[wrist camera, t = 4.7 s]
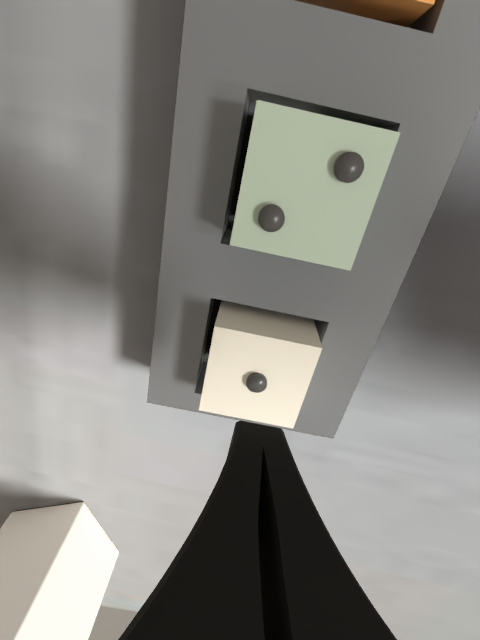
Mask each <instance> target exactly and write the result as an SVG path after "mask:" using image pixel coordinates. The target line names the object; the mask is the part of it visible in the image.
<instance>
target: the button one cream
mask: <svg viewBox="0 0 480 640" xmlns="http://www.w3.org/2000/svg"><path fill="white" fill-rule="evenodd" d="M321 351H322V345H321V342H320V339H319V336H318V332H317V329H316V326H315V323H314V319H311V318H306V317H301V316H296V315H291V314H286V313H281V312H277V311H272V310H267V309H262V308H257V307H252V306H248V305H243V304H238V303H233V302H228V301H223V300H221V304H220V308H219V311H218V315H217V319H216V322H215V326H214V331H213V336H212V342H211V347H210V352H209V358H208V363H207V369H206V374H205V379H204V385H203V390H202V395H201V401H200V406H199V410H200V411H205V412H210V413H215V414H220V415H226V416H231V417H236V418H241V419H246V420H251V421H256V422H262V423H267V424H272V425H277V426H282V427H287V428H292V429H293V428H294V425H295V422H296V420H297V417H298V414H299V411H300V409H301V406H302V403H303V400H304V398H305V395H306V392H307V389H308V387H309V384H310V381H311V378H312V376H313V373H314V370H315V367H316V365H317V362H318V359H319V356H320V353H321Z"/></svg>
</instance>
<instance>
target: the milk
mask: <svg viewBox="0 0 480 640" xmlns="http://www.w3.org/2000/svg"><path fill="white" fill-rule="evenodd" d="M118 554H119V551H118V549H117V548H116V547H115V545H114V544H113V542H112V541H111V540H110V538H109V537H108V535H107V534H106V532H105V531H104V530H103V528H102V527H101V525H100V524H99V523H98V521H97V520H96V518H95V517H94V515H93V514H92V513H91V511H90V510H89V508H88V507H87V506H86V504H85V503H84V502H79V503H72V504H65V505H58V506H51V507H44V508H37V509H30V510H23V511H16V512H12V513H11V514H10V515H9V517H8V518H7V519H6V521H5V522H4V524H3V525H2V527H1V528H0V640H88V638H89V636H90V633H91V630H92V627H93V624H94V622H95V619H96V616H97V613H98V610H99V608H100V605H101V602H102V599H103V596H104V594H105V591H106V588H107V585H108V582H109V579H110V577H111V574H112V571H113V568H114V565H115V563H116V560H117V557H118Z"/></svg>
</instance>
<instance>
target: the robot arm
mask: <svg viewBox="0 0 480 640" xmlns="http://www.w3.org/2000/svg"><path fill="white" fill-rule="evenodd" d="M118 640H397V639H396V638H395V636H394V635H393V633H392V632H391V631H390V629H389V628H388V626H387V625H386V624H385V622H384V621H383V619H382V618H381V617H380V615H379V614H378V612H377V611H376V609H375V608H374V606H373V605H372V603H371V602H370V600H369V599H368V597H367V596H366V594H365V593H364V591H363V589H362V588H361V586H360V585H359V583H358V582H357V580H356V579H355V577H354V575H353V574H352V572H351V570H350V569H349V567H348V565H347V564H346V562H345V561H344V559H343V557H342V555H341V554H340V552H339V550H338V549H337V547H336V545H335V543H334V541H333V540H332V538H331V536H330V534H329V532H328V530H327V529H326V527H325V525H324V523H323V521H322V519H321V517H320V515H319V513H318V511H317V509H316V507H315V505H314V503H313V501H312V499H311V497H310V495H309V493H308V490H307V488H306V486H305V484H304V482H303V480H302V477H301V475H300V473H299V471H298V468H297V466H296V463H295V461H294V459H293V456H292V454H291V451H290V448H289V446H288V443H287V440H286V438H285V435H284V432H283V430H282V429H281V428H277V427H272V426H267V425H261V424H256V423H251V422H246V421H238V422H236V425H235V428H234V432H233V436H232V440H231V444H230V448H229V452H228V456H227V460H226V462H225V465H224V467H223V469H222V472H221V474H220V477H219V479H218V481H217V483H216V485H215V487H214V489H213V491H212V493H211V495H210V497H209V499H208V501H207V503H206V505H205V507H204V509H203V511H202V513H201V515H200V516H199V518H198V520H197V522H196V524H195V525H194V527H193V529H192V531H191V532H190V534H189V536H188V537H187V539H186V541H185V542H184V544H183V546H182V547H181V549H180V551H179V552H178V554H177V555H176V557H175V558H174V560H173V562H172V563H171V565H170V566H169V568H168V569H167V571H166V573H165V574H164V576H163V577H162V579H161V580H160V582H159V583H158V585H157V586H156V588H155V589H154V590H153V592H152V593H151V595H150V596H149V598H148V599H147V600H146V602H145V603H144V605H143V606H142V607H141V609H140V610H139V612H138V613H137V615H136V616H135V617H134V619H133V620H132V622H131V623H130V624H129V626H128V627H127V628H126V630H125V632H124V633H123V634H122V635H121V637H120V638H119V639H118Z"/></svg>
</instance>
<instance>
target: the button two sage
mask: <svg viewBox="0 0 480 640" xmlns="http://www.w3.org/2000/svg"><path fill="white" fill-rule="evenodd" d="M399 136H400V132H396V131H391V130H387V129H383V128H378V127H374V126H370V125H365V124H361V123H356V122H352V121H348V120H343V119H339V118H335V117H330V116H326V115H322V114H317V113H313V112H308V111H304V110H300V109H295V108H291V107H287V106H282V105H278V104H274V103H269V102H265V101H260V100H257V101H256V106H255V112H254V117H253V123H252V128H251V133H250V139H249V144H248V149H247V155H246V160H245V165H244V171H243V176H242V181H241V187H240V192H239V197H238V203H237V208H236V213H235V219H234V224H233V230H232V235H231V240H230V245H232V246H236V247H241V248H246V249H250V250H255V251H260V252H264V253H269V254H274V255H278V256H283V257H288V258H293V259H297V260H302V261H307V262H311V263H316V264H321V265H325V266H330V267H335V268H340V269H344V270H349V271H351V268H352V265H353V263H354V260H355V257H356V254H357V252H358V249H359V246H360V243H361V241H362V238H363V235H364V232H365V230H366V227H367V224H368V221H369V219H370V216H371V213H372V210H373V208H374V205H375V202H376V199H377V197H378V194H379V191H380V188H381V185H382V183H383V180H384V177H385V174H386V172H387V169H388V166H389V163H390V161H391V158H392V155H393V152H394V150H395V147H396V144H397V141H398V139H399Z"/></svg>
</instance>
